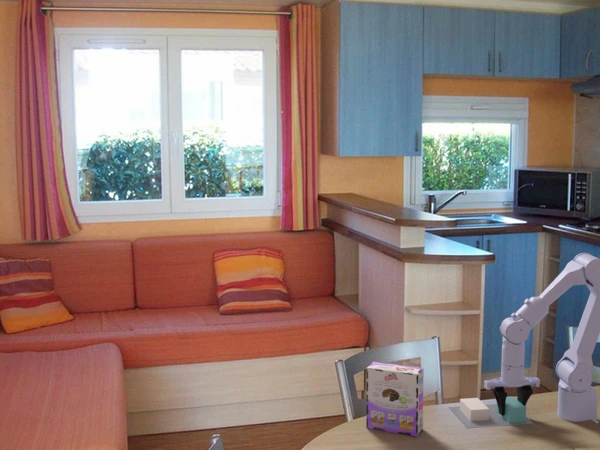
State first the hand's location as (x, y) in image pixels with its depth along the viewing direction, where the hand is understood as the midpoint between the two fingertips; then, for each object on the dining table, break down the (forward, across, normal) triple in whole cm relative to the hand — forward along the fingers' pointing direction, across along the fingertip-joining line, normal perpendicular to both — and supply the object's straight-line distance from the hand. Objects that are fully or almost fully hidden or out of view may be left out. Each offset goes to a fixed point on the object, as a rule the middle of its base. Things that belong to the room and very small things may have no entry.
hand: (511, 413), depth 195 cm
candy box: (+2, +32, 0) cm, 32 cm away
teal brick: (+1, 0, 0) cm, 1 cm away
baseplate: (+2, +5, -2) cm, 6 cm away
